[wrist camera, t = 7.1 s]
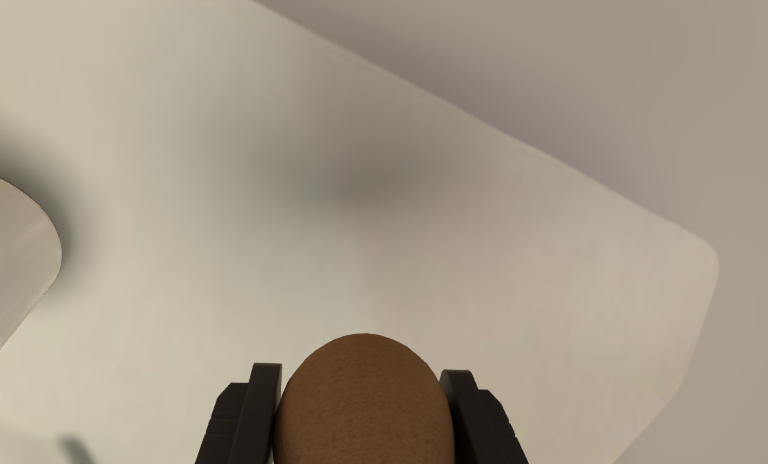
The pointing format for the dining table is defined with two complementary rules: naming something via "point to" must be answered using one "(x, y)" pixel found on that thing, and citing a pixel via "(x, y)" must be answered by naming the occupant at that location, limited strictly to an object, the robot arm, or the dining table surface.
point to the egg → (363, 407)
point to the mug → (24, 257)
